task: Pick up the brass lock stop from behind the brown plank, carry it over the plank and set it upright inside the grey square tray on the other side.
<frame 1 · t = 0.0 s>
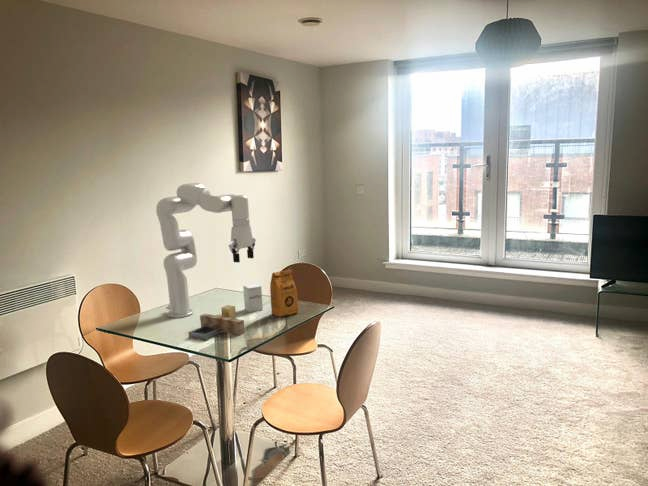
hand: (243, 260, 240), 31 cm above the table, tool pointing down, fingers open, 9 cm apart
lock stop: (229, 325, 248), on the table
coffee package: (285, 314, 261), on the table
brown plank: (222, 330, 241), on the table
grey square tray: (205, 335, 234), on the table
supplement box: (253, 309, 272), on the table
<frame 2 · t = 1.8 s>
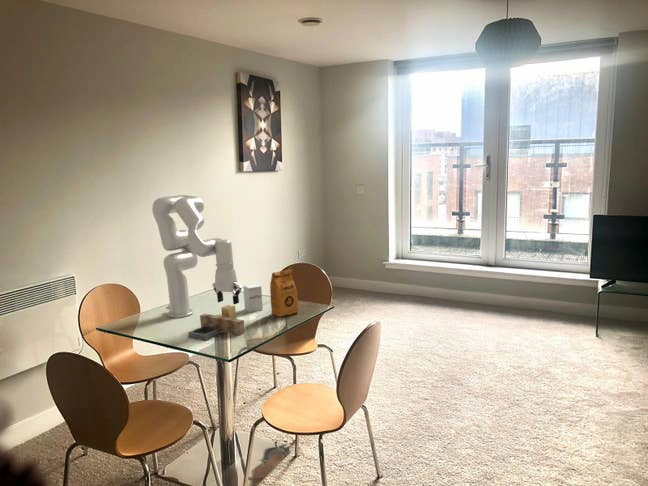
hand: (228, 302, 246), 11 cm above the table, tool pointing down, fingers open, 9 cm apart
nothing on the table moved.
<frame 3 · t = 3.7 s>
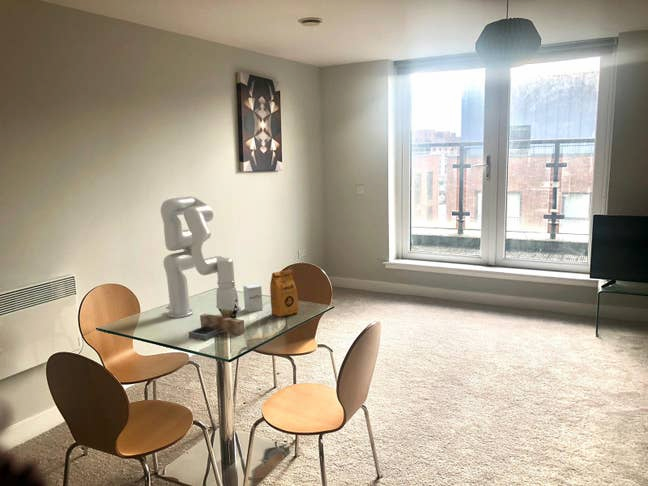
hand: (229, 322, 247), 1 cm above the table, tool pointing down, fingers closed on lock stop, 4 cm apart
lock stop: (229, 325, 248), on the table, touching gripper
everything else where it was.
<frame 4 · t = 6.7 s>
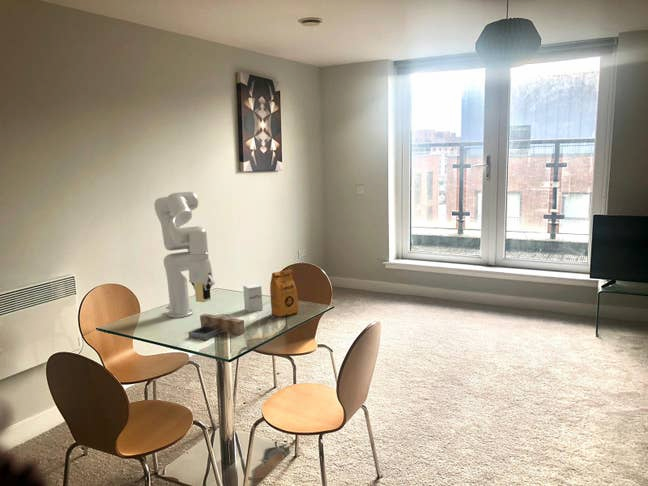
hand: (203, 297, 232), 17 cm above the table, tool pointing down, fingers closed on lock stop, 4 cm apart
lock stop: (203, 300, 232), point 16 cm above the table, touching gripper
everything else where it was.
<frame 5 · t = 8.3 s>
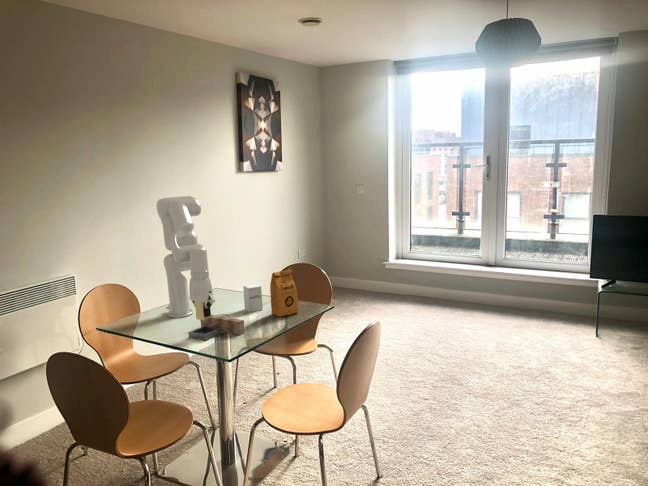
hand: (203, 315, 233), 10 cm above the table, tool pointing down, fingers closed on lock stop, 4 cm apart
lock stop: (203, 318, 233), point 8 cm above the table, touching gripper
everything else where it was.
when the fingers open (4 cm above the table, at t = 9.7 s): lock stop drops 2 cm, resting on grey square tray.
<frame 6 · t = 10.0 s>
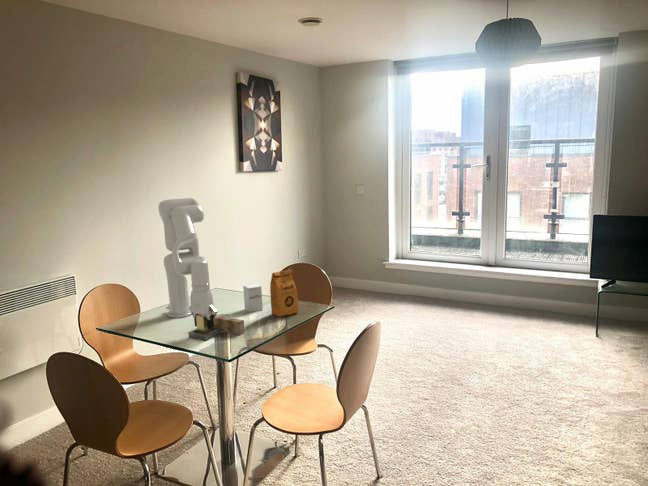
hand: (204, 326, 234), 4 cm above the table, tool pointing down, fingers open, 7 cm apart
lock stop: (204, 334, 234), point 1 cm above the table, touching grey square tray
everything else where it was.
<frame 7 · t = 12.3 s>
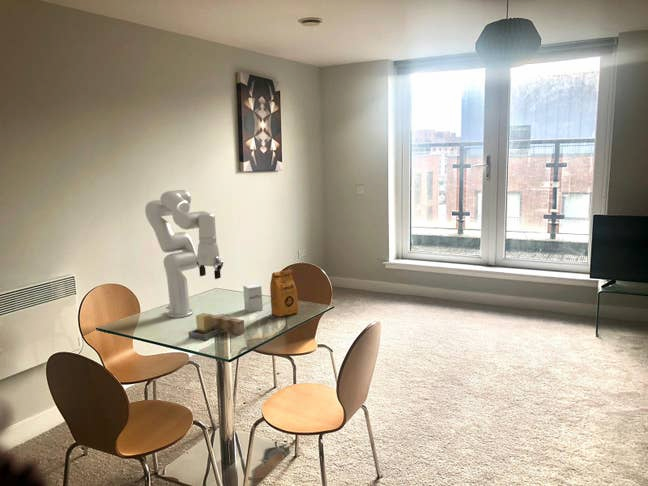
hand: (210, 277, 243), 24 cm above the table, tool pointing down, fingers open, 9 cm apart
nothing on the table moved.
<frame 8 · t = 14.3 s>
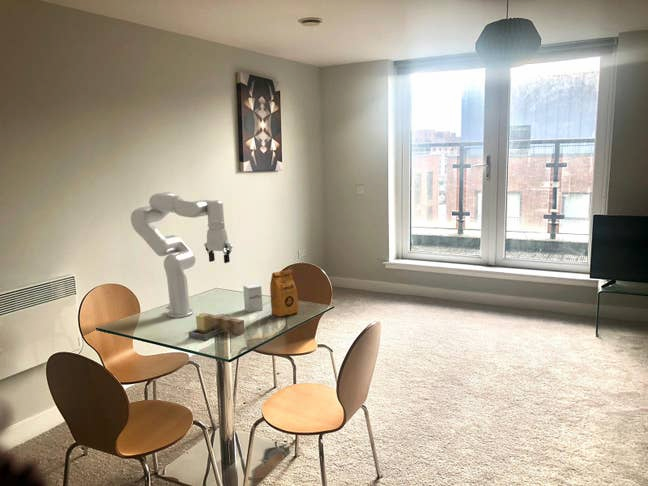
hand: (219, 261, 254), 28 cm above the table, tool pointing down, fingers open, 9 cm apart
nothing on the table moved.
at the end: lock stop 0.2 cm off-centre on the grey square tray, point 0.6 cm above the grey square tray's base; lock stop tilted 0°; the gripper is holding nothing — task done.
